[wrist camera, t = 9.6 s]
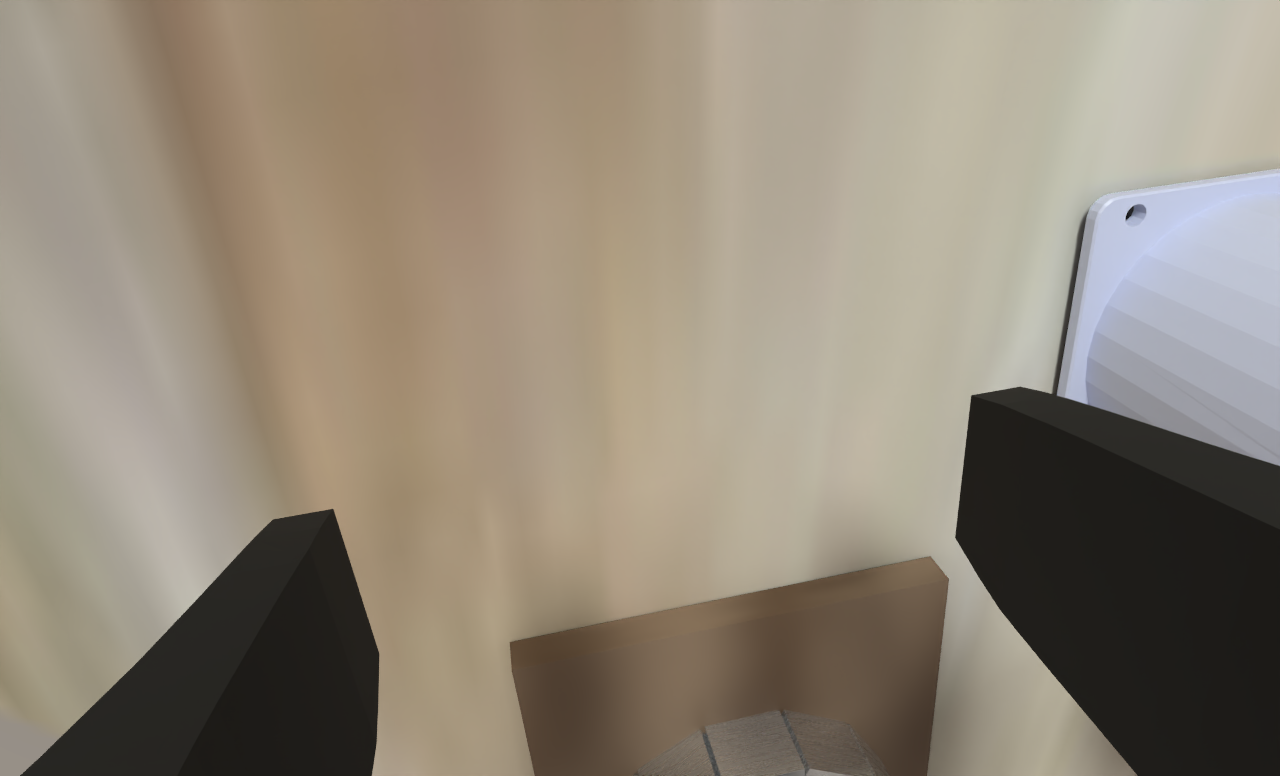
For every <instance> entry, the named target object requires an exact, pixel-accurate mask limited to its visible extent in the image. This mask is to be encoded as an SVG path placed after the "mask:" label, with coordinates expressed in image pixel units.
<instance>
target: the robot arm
mask: <svg viewBox="0 0 1280 776" xmlns="http://www.w3.org/2000/svg"><path fill="white" fill-rule="evenodd" d="M1132 206H1134V211H1133V213H1132V215H1131V216H1130V217H1129V219H1128V220H1126V218H1125V217H1126V214H1127V212H1128V210H1129V209H1130V208H1131V207H1132ZM955 538H956V540H957V541H958V543H959V545H960V546H961V548H962V550H963V551H964V553H965V555H966V556H967V558H968V560H969V561H970V563H971V565H972V566H973V568H974V570H975V571H976V573H977V575H978V577H979V578H980V580H981V581H982V583H983V584H984V586H985V587H986V589H987V590H988V592H989V593H990V595H991V597H992V598H993V600H994V601H995V603H996V604H997V606H998V607H999V609H1000V610H1001V611H1002V613H1003V614H1004V615H1005V616H1006V618H1007V619H1008V620H1009V621H1010V623H1011V624H1012V625H1013V626H1014V628H1015V629H1016V630H1017V631H1018V633H1019V634H1020V635H1021V636H1022V637H1023V639H1024V640H1025V641H1026V642H1027V643H1028V645H1029V646H1030V647H1031V648H1032V650H1033V651H1034V652H1035V653H1036V654H1037V656H1038V657H1039V658H1040V659H1041V661H1042V662H1043V663H1044V664H1045V665H1046V667H1047V668H1048V669H1049V670H1050V671H1051V673H1052V674H1053V675H1054V676H1055V677H1056V679H1057V680H1058V681H1059V682H1060V683H1061V684H1062V686H1063V687H1064V688H1065V689H1066V690H1067V692H1068V693H1069V694H1070V695H1071V696H1072V698H1073V699H1074V700H1075V701H1076V702H1077V704H1078V705H1079V706H1080V707H1081V708H1082V710H1083V711H1084V712H1085V713H1086V714H1087V716H1088V717H1089V718H1090V719H1091V720H1092V721H1093V723H1094V724H1095V725H1096V726H1097V727H1098V729H1099V730H1100V731H1101V732H1102V733H1103V735H1104V736H1105V737H1106V738H1107V739H1108V741H1109V742H1110V743H1111V744H1112V745H1113V747H1114V748H1115V749H1116V750H1117V751H1118V753H1119V754H1120V755H1121V756H1122V757H1123V758H1124V760H1125V761H1126V762H1127V763H1128V764H1129V766H1130V767H1131V768H1132V769H1133V770H1134V772H1135V773H1136V774H1137V775H1138V776H1280V169H1273V170H1266V171H1259V172H1253V173H1246V174H1239V175H1232V176H1225V177H1218V178H1212V179H1205V180H1198V181H1191V182H1184V183H1177V184H1171V185H1164V186H1157V187H1150V188H1143V189H1136V190H1130V191H1123V192H1116V193H1109V194H1107V195H1104V196H1102V197H1100V198H1099V199H1098V200H1096V201H1095V202H1094V204H1093V205H1092V206H1091V208H1090V209H1089V212H1088V215H1087V218H1086V224H1085V230H1084V236H1083V242H1082V248H1081V254H1080V260H1079V266H1078V272H1077V278H1076V284H1075V290H1074V296H1073V302H1072V308H1071V314H1070V319H1069V325H1068V331H1067V337H1066V343H1065V349H1064V355H1063V361H1062V367H1061V373H1060V379H1059V385H1058V391H1057V395H1053V394H1049V393H1045V392H1042V391H1037V390H1032V389H1028V388H1023V387H1016V388H1011V389H1005V390H999V391H994V392H988V393H983V394H977V395H971V404H970V412H969V421H968V430H967V439H966V448H965V457H964V465H963V474H962V483H961V492H960V501H959V510H958V518H957V527H956V536H955ZM378 687H379V652H378V648H377V645H376V642H375V639H374V636H373V633H372V630H371V626H370V623H369V620H368V617H367V614H366V611H365V608H364V604H363V601H362V598H361V595H360V592H359V589H358V586H357V582H356V579H355V576H354V573H353V570H352V567H351V563H350V560H349V557H348V554H347V551H346V548H345V545H344V541H343V538H342V535H341V532H340V529H339V526H338V523H337V519H336V516H335V513H334V510H333V509H330V510H324V511H319V512H313V513H308V514H302V515H296V516H291V517H285V518H279V519H274V520H272V521H271V522H270V523H269V524H268V525H267V526H266V527H265V528H264V529H263V530H262V531H261V532H260V533H259V534H258V535H257V536H256V537H255V538H254V539H253V540H252V541H251V542H250V543H249V544H248V545H247V546H246V547H245V548H244V549H243V550H242V552H241V553H240V554H239V555H238V556H237V557H236V558H235V559H234V560H233V561H232V562H231V563H230V564H229V566H228V567H227V568H226V569H225V570H224V571H223V572H222V573H221V574H220V575H219V576H218V577H217V579H216V580H215V581H214V582H213V583H212V584H211V585H210V586H209V587H208V588H207V589H206V590H205V591H204V593H203V594H202V595H201V596H200V597H199V598H198V599H197V600H196V601H195V602H194V603H193V604H192V605H191V606H190V607H189V609H188V610H187V611H186V612H185V613H184V614H183V615H182V616H181V617H180V618H179V619H178V620H177V621H176V622H175V623H174V624H173V625H172V626H171V628H170V629H169V630H168V631H167V632H166V633H165V634H164V635H163V636H162V637H161V638H160V639H159V640H158V641H157V642H156V643H155V644H154V645H153V647H152V648H151V649H150V650H149V651H148V652H147V653H146V654H145V655H144V656H143V657H142V658H141V659H140V660H139V661H138V662H137V663H136V664H135V665H134V666H133V667H132V668H131V669H130V670H129V671H128V672H127V673H126V674H125V675H124V676H123V677H122V678H121V679H120V680H119V681H118V682H117V683H116V684H115V685H114V686H113V687H112V688H111V689H110V690H109V691H108V692H107V693H106V694H105V695H104V696H103V697H102V698H100V699H99V700H98V701H97V702H96V703H95V704H94V705H93V706H92V707H91V708H90V709H89V710H88V711H87V712H86V713H85V714H84V715H83V716H82V717H81V718H80V719H79V720H78V721H77V722H76V723H75V724H74V725H73V726H72V727H71V728H70V729H69V730H68V731H67V732H66V733H65V734H64V735H63V736H61V737H60V738H59V739H58V740H57V741H56V742H55V743H54V744H53V745H52V746H51V747H50V748H49V749H48V750H47V751H46V752H45V753H44V754H43V755H42V756H41V757H40V758H39V759H38V760H37V761H36V762H34V764H32V765H31V766H30V767H29V768H28V769H27V770H26V771H25V772H24V773H23V774H21V775H20V776H372V770H373V764H374V757H375V750H376V742H377V718H378Z"/></svg>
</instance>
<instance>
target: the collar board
mask: <svg viewBox="0 0 1280 776" xmlns="http://www.w3.org/2000/svg"><path fill="white" fill-rule="evenodd" d="M948 582H949V579H948V577H947V576H946V575H945V574H944V573H943V571H942V570H941V569H940V568H939V566H938V565H937V564H936V563H935V561H934V560H933V559H932V558H931V557H925V558H920V559H916V560H911V561H906V562H901V563H896V564H891V565H886V566H881V567H876V568H872V569H867V570H862V571H857V572H852V573H847V574H842V575H837V576H832V577H827V578H823V579H818V580H813V581H808V582H803V583H798V584H793V585H788V586H783V587H778V588H774V589H769V590H764V591H759V592H754V593H749V594H744V595H739V596H734V597H729V598H725V599H720V600H715V601H710V602H705V603H700V604H695V605H690V606H685V607H680V608H676V609H671V610H666V611H661V612H656V613H651V614H646V615H641V616H636V617H631V618H627V619H622V620H617V621H612V622H607V623H602V624H597V625H592V626H587V627H582V628H578V629H573V630H568V631H563V632H558V633H553V634H548V635H543V636H538V637H533V638H529V639H524V640H519V641H514V642H510V651H511V665H512V673H513V678H514V682H515V687H516V691H517V696H518V701H519V705H520V710H521V714H522V719H523V723H524V728H525V733H526V737H527V742H528V746H529V751H530V755H531V760H532V764H533V769H534V774H535V776H927V770H928V761H929V752H930V743H931V734H932V725H933V716H934V707H935V698H936V689H937V680H938V671H939V662H940V653H941V644H942V635H943V627H944V618H945V609H946V600H947V591H948Z"/></svg>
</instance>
